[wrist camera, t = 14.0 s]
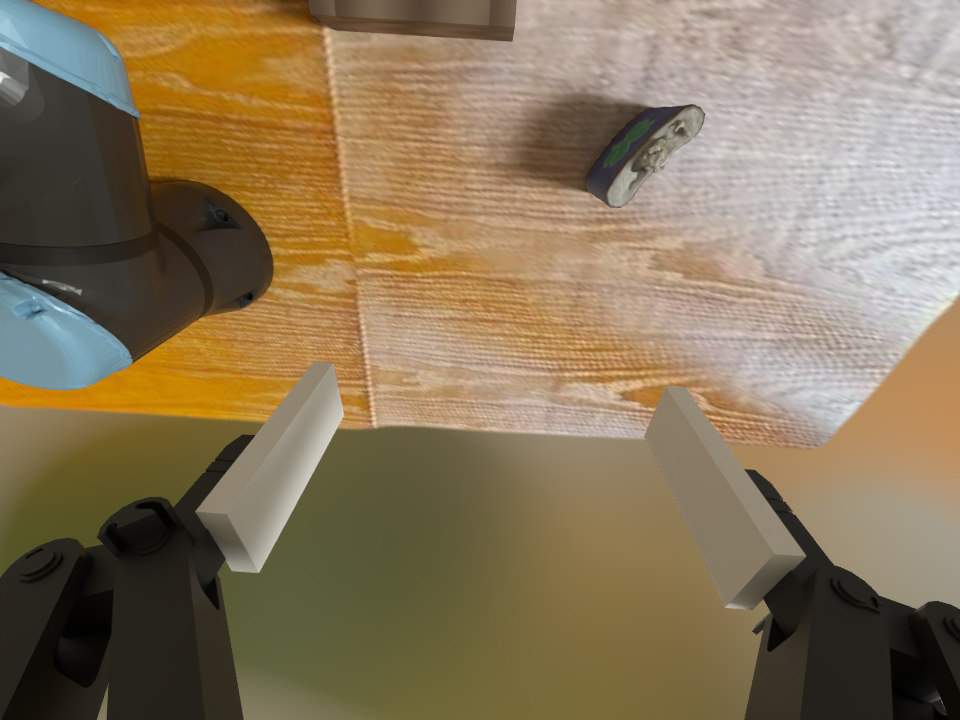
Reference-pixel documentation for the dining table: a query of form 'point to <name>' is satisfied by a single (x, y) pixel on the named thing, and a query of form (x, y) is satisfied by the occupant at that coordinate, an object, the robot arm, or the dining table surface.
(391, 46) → the dining table surface
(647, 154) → the flask
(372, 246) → the dining table surface
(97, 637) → the robot arm
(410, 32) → the thick-rimmed brown tray
